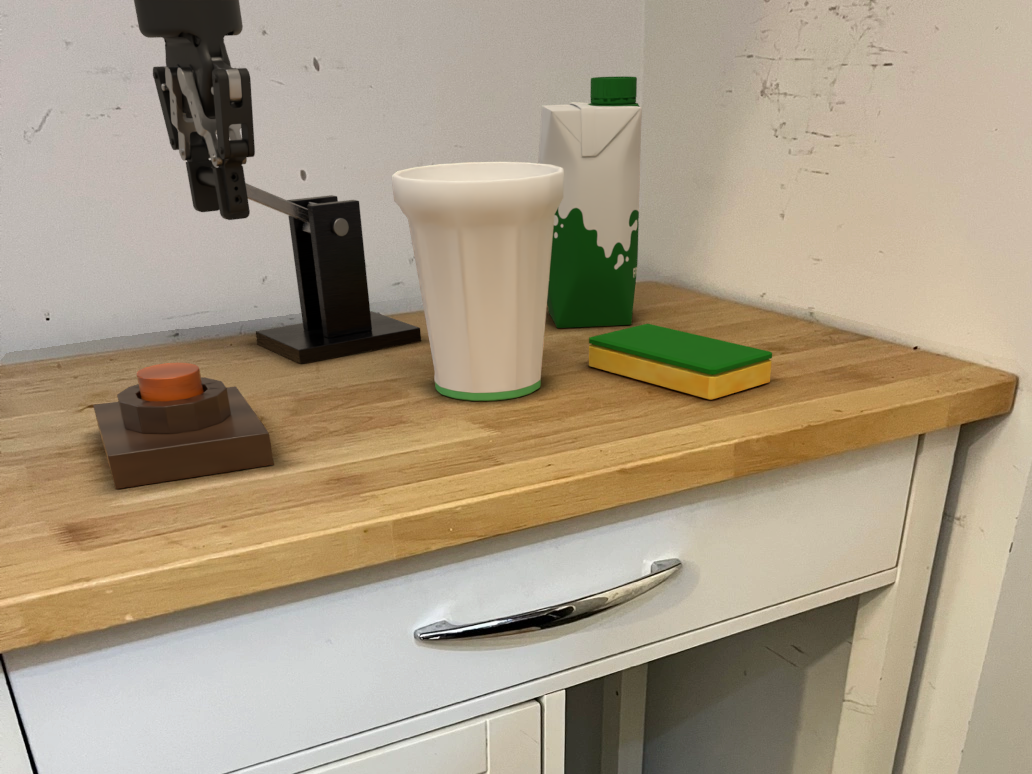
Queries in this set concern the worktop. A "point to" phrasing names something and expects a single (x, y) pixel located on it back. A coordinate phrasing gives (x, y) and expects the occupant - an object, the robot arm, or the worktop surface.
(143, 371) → the button
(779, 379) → the worktop surface
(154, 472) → the button box
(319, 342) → the bracket
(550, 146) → the milk carton
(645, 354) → the dish sponge
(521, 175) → the cup
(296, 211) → the lever
